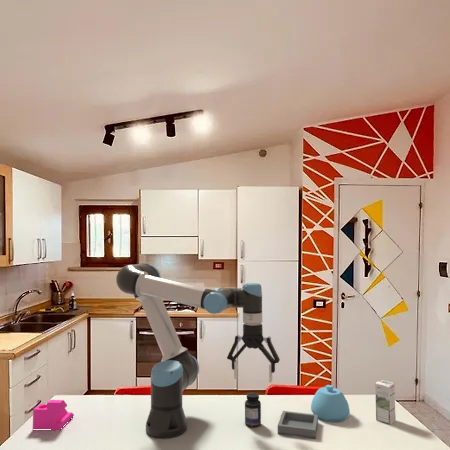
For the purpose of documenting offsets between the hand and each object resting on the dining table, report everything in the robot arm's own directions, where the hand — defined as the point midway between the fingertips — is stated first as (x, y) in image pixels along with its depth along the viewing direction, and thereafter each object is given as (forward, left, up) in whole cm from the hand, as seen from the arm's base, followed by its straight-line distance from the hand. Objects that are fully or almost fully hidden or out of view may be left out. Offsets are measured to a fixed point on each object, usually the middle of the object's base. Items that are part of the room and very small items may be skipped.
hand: (253, 379), depth 152 cm
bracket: (-74, -21, -17) cm, 78 cm away
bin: (+17, +2, -17) cm, 24 cm away
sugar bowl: (+28, +17, -17) cm, 37 cm away
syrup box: (+49, +18, -17) cm, 55 cm away
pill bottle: (0, 0, -17) cm, 17 cm away
